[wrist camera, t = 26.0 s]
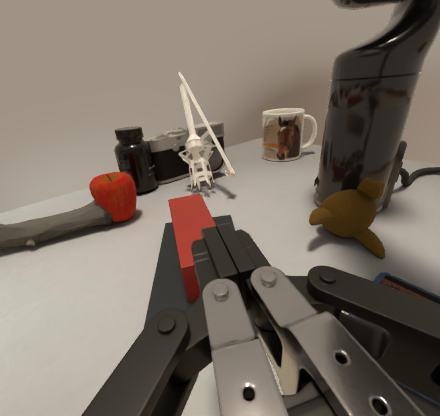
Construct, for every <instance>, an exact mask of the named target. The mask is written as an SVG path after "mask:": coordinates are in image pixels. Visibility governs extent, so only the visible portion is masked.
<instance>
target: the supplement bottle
mask: <svg viewBox="0 0 440 416" xmlns="http://www.w3.org/2000/svg"><path fill="white" fill-rule="evenodd" d="M115 134H116V139H117V140H118V141H119V143H118V144H117V145H116V146H115V149H114V151H115V155H116V159H117V163H118V166H119V170H120V172H124V173H127V174H130V176H131V177H132V179H133V181H134V183H135V187H136V193H142V192H146V191H150V190H152V189H154V188H155V187H156V186H157V185H158V181H157V175H156V170H155V165H154V160H153V155H152V150H151V146H150V144H149V143H148V142H146V141H144V140H143V138H142V137H143V133H142V128H141V127H126V128H119V129H116V130H115Z"/></svg>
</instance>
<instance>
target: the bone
mask: <svg viewBox="0 0 440 416" xmlns="http://www.w3.org/2000/svg"><path fill="white" fill-rule="evenodd" d="M112 223H113V221H112V215H111V214H110V213H109V212H108V211H107V210H105V209H104V208H103V207H102V206H100V205H98V204H97V202H96V201H95V200H94V201H92V202H91V203H90V204H88V205H86V206H84V207H82V208H79V209H76V210H73V211H69V212H65V213H61V214H57V215H53V216H49V217H44V218H38V219H33V220H28V221H25V222H21V223H16V224H8V225H3V224H0V249H2V248H10V247H15V246H20V245H25V244H26V245H29V246H35V243H36V242H40V241H44V240H48V239H51V238H54V237H57V236H60V235H63V234H66V233H69V232H71V231H75V230H78V229H81V228H85V227H88V226H92V225H99V224H105V225H112Z"/></svg>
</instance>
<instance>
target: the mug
mask: <svg viewBox="0 0 440 416" xmlns="http://www.w3.org/2000/svg"><path fill="white" fill-rule="evenodd" d="M304 118H308V119H309V120H310V121H311V123H312V125H313V133H312V136H311V138H310V140H309V141H308V142H307V143H306V144H304V145H302V137H303V124H304ZM316 135H317V123H316V121H315V119H314V118H313V117H312V116H310V115H307V114H305V110H304V109H300V108H284V109H274V110H268V111H264V112H263V142H262V156H263V158H264V159H267V160H271V161H291V160H295V159H298V158H299V157H300V156H301V150H302V149H306V148H308V147H309V146H310V145H311V144H312V143H313V142H314V140H315V138H316Z"/></svg>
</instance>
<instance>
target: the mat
mask: <svg viewBox="0 0 440 416" xmlns="http://www.w3.org/2000/svg"><path fill="white" fill-rule="evenodd" d="M212 218H213V220H214V222H215V224H216V225H220V224H224V223H230V224H231V226H232V227H233V229H234V225H233V222H232V218H231V215H227V216H219V217H212ZM234 230H235V229H234ZM195 302H196V301H195ZM195 302H191V303H189V302H188V297H187V293H186V288H185V284H184V280H183V275H182V271H181V266H180V261H179V255H178V250H177V244H176V239H175V234H174V228H173V223H172V222H171V223H166V224H165V229H164V234H163V239H162V243H161V248H160V253H159V258H158V263H157V268H156V272H155V277H154V282H153V287H152V292H151V297H150V301H149V306H148V311H147V316H146V321H145V326H144V328H145V327H146V325H147V324H148V323H149V321H150V320H151V319H152V317H153V316H154V315H156V314H157V313H158V312H160V311H162V310H164V309H168V308H176V309H180V310H182V311H183V310H185V309H187V308H188V307H190V306H191V305H193V304H194V303H195ZM247 314H248V316H249V319H250V322H251V325H252V317H251V314H250V312H249V311H247ZM252 328H253V326H252ZM253 331H254V329H253ZM254 333H255V331H254ZM255 335H256V333H255ZM256 337H257V335H256Z"/></svg>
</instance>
